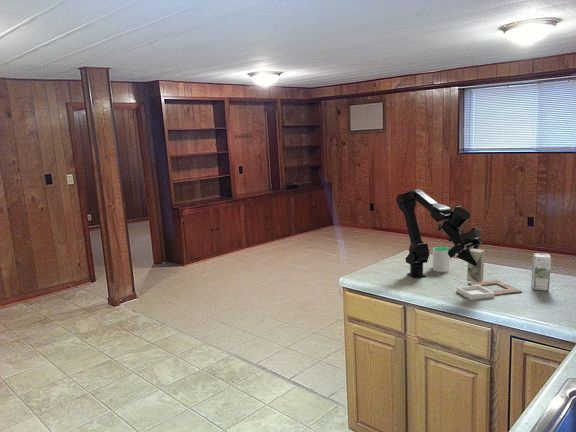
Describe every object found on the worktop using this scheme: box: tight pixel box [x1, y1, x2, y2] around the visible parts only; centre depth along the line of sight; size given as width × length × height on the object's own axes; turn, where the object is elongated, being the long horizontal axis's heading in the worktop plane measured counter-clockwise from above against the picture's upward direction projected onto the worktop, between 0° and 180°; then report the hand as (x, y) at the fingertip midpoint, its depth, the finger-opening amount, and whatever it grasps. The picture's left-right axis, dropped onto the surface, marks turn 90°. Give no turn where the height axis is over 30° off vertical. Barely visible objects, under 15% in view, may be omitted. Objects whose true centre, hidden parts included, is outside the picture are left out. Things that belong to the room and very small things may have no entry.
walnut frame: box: [467, 279, 523, 297], centre depth 194 cm, size 16×14×1 cm
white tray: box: [456, 285, 495, 301], centre depth 186 cm, size 10×10×2 cm
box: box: [466, 249, 485, 283], centre depth 185 cm, size 5×4×13 cm
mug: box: [432, 246, 452, 273], centre depth 224 cm, size 12×8×10 cm, turn 177°
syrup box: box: [530, 252, 552, 292], centre depth 190 cm, size 6×6×14 cm
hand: (479, 264), depth 183 cm, fingers closed on box, 4 cm apart
